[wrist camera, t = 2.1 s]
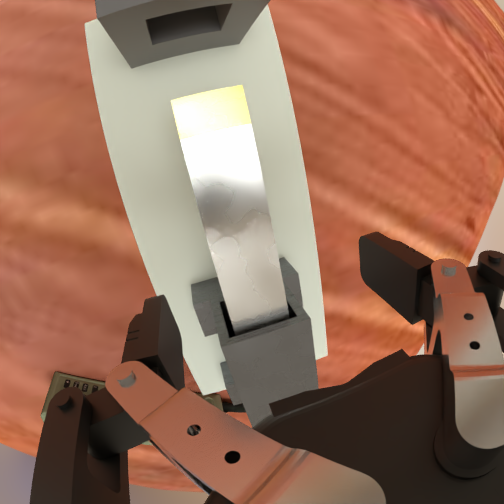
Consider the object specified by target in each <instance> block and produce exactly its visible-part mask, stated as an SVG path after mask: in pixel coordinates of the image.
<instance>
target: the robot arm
mask: <svg viewBox="0 0 504 504" xmlns="http://www.w3.org/2000/svg"><path fill="white" fill-rule="evenodd" d="M359 253H360V271H361V276H362V279H363V281H364V282H365V284H366V285H367V286H369V287H370V288H371V289H372V290H373V291H374V292H376V293H377V294H378V295H379V296H380V297H381V298H382V299H384V300H385V301H386V302H387V303H388V304H389V305H390V306H392V307H393V308H394V309H395V310H396V311H397V312H398V313H399V314H401V315H402V316H403V317H404V318H405V319H406V320H407V321H408V322H409V323H411V324H412V325H413V324H415V323H417V322H419V321H421V320H423V319H424V320H425V323H424V355H416V356H411V357H409V356H408V355H407V354H406V353H405V352H404V350H403V349H401V350H399V351H397V352H395V353H393V354H391V355H389V356H387V357H385V358H383V359H381V360H379V361H377V362H374V363H373V364H372V365H370V366H369V367H368V368H366V369H365V370H364V371H362V372H361V373H360V374H358V375H357V376H356V377H354V378H353V379H351V380H350V381H349V382H347V383H345V384H342V385H338V386H332V387H327V388H321V389H315V390H309V391H304V392H301V393H299V394H296V395H293V396H290V397H287V398H284V399H281V400H278V401H275V402H272V403H269V406H270V409H271V412H272V414H271V415H269V416H267V417H265V418H264V419H262V420H261V421H260V422H258V423H257V424H256V425H255V426H254V427H252V428H250V427H248V426H247V425H245V424H243V423H241V422H240V421H238V420H236V419H235V418H233V417H231V416H230V415H228V414H226V413H225V412H223V411H221V410H220V409H218V408H217V407H215V406H213V405H212V404H210V403H209V402H207V401H206V400H204V399H203V398H201V397H200V396H198V395H197V394H195V393H194V392H192V391H191V390H189V389H187V388H185V384H184V368H183V349H182V338H181V334H180V331H179V328H178V325H177V323H176V321H175V318H174V316H173V314H172V311H171V309H170V306H169V304H168V301H167V299H166V297H165V295H164V294H163V295H159V296H155V297H152V298H148V299H145V302H144V307H143V312H142V313H141V314H138V315H136V316H135V317H134V318H133V320H132V321H131V322H130V324H129V328H128V334H127V337H126V342H125V347H124V352H123V357H122V362H121V364H120V365H118V366H116V367H115V368H114V369H113V370H112V371H111V372H110V373H109V374H108V376H107V378H106V381H105V386H106V387H104V388H102V389H100V390H98V391H96V392H93V393H91V394H89V395H87V396H85V395H84V394H83V392H82V391H81V390H80V389H79V388H77V387H67V388H64V389H62V390H60V391H59V392H58V393H56V394H55V395H54V396H53V398H52V399H51V401H50V403H49V405H48V409H47V413H46V417H45V421H44V425H43V429H42V433H41V438H40V442H39V447H38V452H37V457H36V463H35V469H34V474H33V481H32V489H31V496H30V504H130V495H129V479H128V449H131V448H133V447H135V446H138V445H140V444H142V443H144V442H147V441H149V442H150V443H151V444H152V445H153V446H154V447H155V448H156V449H157V450H158V451H159V452H160V453H161V454H162V455H163V456H165V457H166V458H167V459H168V460H169V461H170V462H171V463H172V464H173V465H174V466H176V467H177V468H178V469H179V470H180V471H181V472H182V473H183V474H185V475H186V476H187V477H188V478H189V479H190V480H191V481H192V482H193V483H195V484H196V485H197V486H198V487H199V488H201V489H202V490H203V491H204V492H206V493H207V494H208V495H209V497H208V498H207V500H206V501H205V503H204V504H504V358H503V354H502V352H503V353H504V309H502V308H501V307H500V304H501V300H502V296H503V292H504V254H503V253H500V252H497V251H491V250H489V251H483V252H481V253H480V254H479V258H478V265H477V266H472V267H467V268H466V267H465V265H464V264H463V263H461V262H459V261H457V260H454V259H439V260H436V261H433V260H432V259H430V258H428V257H427V256H425V255H423V254H421V253H420V252H418V251H416V250H414V249H413V248H411V247H410V248H409V246H407V245H406V244H404V243H402V242H400V241H396V240H392V239H390V238H388V237H386V236H384V235H383V234H381V233H379V232H373V233H370V234H367V235H364V236H361V237H360V239H359Z"/></svg>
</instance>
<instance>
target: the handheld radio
mask: <svg viewBox="0 0 504 504" xmlns="http://www.w3.org/2000/svg"><path fill="white" fill-rule="evenodd" d="M67 387H77V388H79V389H80V390H81V391H82V392H83V394H84V395H85V396H87V395H89V394H91V393H93V392H96V391H98V390H100V389H102V388H104V387H106V386H105V382H102V381H97V380H92V379H87V378H82V377H77V376H73V375H68V374H64V373H60V372H55V373H54V376H53V379H52V382H51V385H50V388H49V391H48V394H47V397H46V400H45V403H44V406H43V409H42V413H41V418H42V420H43V422H44V421H45V417H46V413H47V409H48V405H49V403H50V401H51V399H52V398H53V396H54V395H55V394H56V393H58V392H59V391H60V390H62V389H64V388H67ZM195 394H197V395H198V396H200V397H201V398H203V399H204V400H206V401H207V402H209V403H210V404H212V405H213V406H215V407H217V408H218V409H220V410H221V411H223V412H225V413H227V412H246V410H245V408H244V405H243V403H241V404H237V405H233V403H227V402H221V397H220V395H218V394H207V395H203V394H201V393H195ZM142 444H146V445H152V444H151V443H150V442H149V441H147V442H144V443H142Z"/></svg>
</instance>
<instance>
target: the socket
mask: <svg viewBox="0 0 504 504" xmlns="http://www.w3.org/2000/svg"><path fill="white" fill-rule="evenodd" d="M269 1H270V0H95V4H96V13H97V19H98V20H99V22H100V23H101V25H102V26H103V28H104V29H105V31H106V32H107V34H108V35H109V36H110V38H111V39H112V41H113V42H114V44H115V45H116V47H117V48H118V50H119V51H120V53H121V54H122V55H123V57H124V58H125V60H126V61H127V63H128V64H129V66H130V67H131V69H132V68H135V67H138V66H142V65H145V64H148V63H152V62H155V61H159V60H163V59H167V58H171V57H175V56H179V55H183V54H187V53H192V52H197V51H202V50H207V49H212V48H218V47H224V46H230V45H237V44H240V42H241V41H242V39H243V38H244V36H245V35H246V33H247V32H248V30H249V29H250V28H251V26H252V25H253V23H254V22H255V20H256V19H257V18H258V16H259V15H260V13H261V12H262V11H263V9H264V8H265V7H266V5H267V4H268V3H269Z"/></svg>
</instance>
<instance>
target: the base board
mask: <svg viewBox="0 0 504 504" xmlns="http://www.w3.org/2000/svg"><path fill="white" fill-rule="evenodd" d="M85 32H86V40H87V48H88V54H89V61H90V67H91V73H92V79H93V84H94V89H95V95H96V100H97V104H98V109H99V114H100V118H101V123H102V127H103V131H104V135H105V139H106V143H107V147H108V151H109V155H110V159H111V162H112V166H113V170H114V173H115V177H116V180H117V184H118V187H119V190H120V194H121V197H122V200H123V203H124V207H125V210H126V213H127V216H128V219H129V222H130V225H131V228H132V231H133V234H134V237H135V239H136V242H137V245H138V248H139V251H140V253H141V256H142V259H143V262H144V264H145V267H146V269H147V272H148V275H149V277H150V280H151V282H152V285H153V287H154V290H155V292H156V295H157V296H159V295H163V294H164V295H165V297H166V299H167V301H168V304H169V306H170V309H171V311H172V314H173V316H174V318H175V321H176V323H177V325H178V328H179V331H180V334H181V338H182V349H183V356H184V358H185V360H186V362H187V364H188V366H189V368H190V371H191V373H192V375H193V377H194V379H195V381H196V382H197V384H198V386H199V388H200V390H201V392H202V394H203V395H207V394H211V393H215V392H219V391H222V390H226V387H225V383H224V379H223V375H222V370H221V366H220V363H221V362H225V361H226V360H225V357H224V354H223V352H222V349H221V346H220V342H219V337H218V333H217V334H214V335H210V336H207V337H205V336H204V333H203V331H202V328H201V326H200V323H199V320H198V318H197V315H196V312H195V310H194V307H193V302H192V292H191V284H194V283H198V282H201V281H205V280H208V279H212V278H215V277H218V276H217V273H216V270H215V266H214V263H213V259H212V256H211V252H210V249H209V245H208V242H207V238H206V235H205V231H204V228H203V224H202V221H201V217H200V213H199V210H198V206H197V202H196V198H195V195H194V191H193V187H192V183H191V180H190V176H189V172H188V168H187V164H186V160H185V156H184V152H183V148H182V144H181V140H180V136H179V132H178V128H177V124H176V119H175V115H174V111H173V107H172V102H171V101H172V100H175V99H179V98H183V97H187V96H191V95H195V94H200V93H204V92H209V91H213V90H218V89H223V88H228V87H233V86H239V85H242V86H243V90H244V95H245V99H246V103H247V108H248V112H249V117H250V121H251V126H252V130H253V135H254V140H255V144H256V149H257V154H258V158H259V163H260V168H261V172H262V177H263V182H264V187H265V192H266V197H267V202H268V207H269V212H270V217H271V222H272V227H273V232H274V237H275V242H276V247H277V252H278V258H282V257H285V259H286V260H287V261H288V262H289V263H290V264H291V265H292V267H293V268H294V269H295V270H296V271H297V272H298V274H299V280H300V287H301V294H302V300H303V308H304V310H305V311H306V313H307V314H308V315H309V317H310V318H311V325H312V333H313V341H314V350H315V359H316V360H317V359H320V358H322V357H325V356H327V355H328V353H327V340H326V328H325V317H324V306H323V297H322V287H321V278H320V270H319V261H318V253H317V246H316V238H315V231H314V224H313V217H312V210H311V204H310V197H309V191H308V185H307V179H306V173H305V167H304V161H303V156H302V150H301V145H300V140H299V134H298V129H297V124H296V119H295V114H294V110H293V105H292V100H291V96H290V91H289V87H288V82H287V78H286V73H285V69H284V65H283V61H282V57H281V53H280V49H279V45H278V41H277V37H276V33H275V29H274V25H273V22H272V18H271V15H270V11H269V7H268V4H267V5H266V7H265V8H264V9H263V11H262V12H261V13H260V15H259V16H258V18H257V19H256V20H255V22H254V23H253V25H252V26H251V28H250V29H249V30H248V32H247V33H246V35H245V36H244V38H243V39H242V41H241V42H240V44H237V45H230V46H224V47H218V48H212V49H207V50H202V51H197V52H192V53H187V54H183V55H179V56H175V57H171V58H167V59H163V60H159V61H155V62H152V63H148V64H145V65H142V66H138V67H135V68H132V69H131V67H130V66H129V64H128V63H127V61H126V60H125V58H124V57H123V55H122V54H121V53H120V51H119V50H118V48H117V47H116V45H115V44H114V42H113V41H112V39H111V38H110V36H109V35H108V34H107V32H106V31H105V29H104V28H103V26H102V25H101V23H100V22H99V20H98V19H95V20H92V21H90V22H87V23H85Z"/></svg>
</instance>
